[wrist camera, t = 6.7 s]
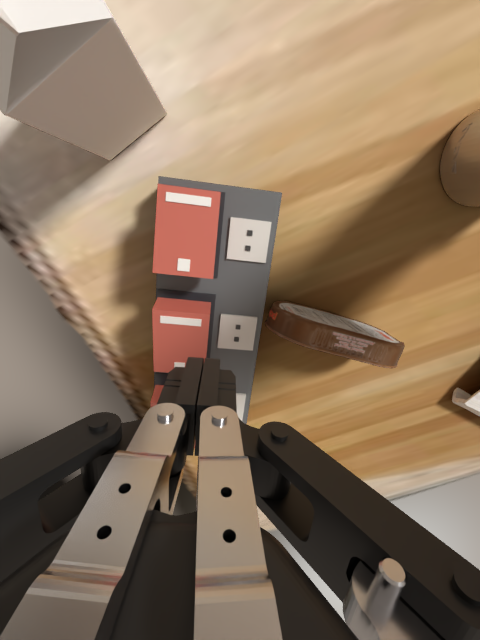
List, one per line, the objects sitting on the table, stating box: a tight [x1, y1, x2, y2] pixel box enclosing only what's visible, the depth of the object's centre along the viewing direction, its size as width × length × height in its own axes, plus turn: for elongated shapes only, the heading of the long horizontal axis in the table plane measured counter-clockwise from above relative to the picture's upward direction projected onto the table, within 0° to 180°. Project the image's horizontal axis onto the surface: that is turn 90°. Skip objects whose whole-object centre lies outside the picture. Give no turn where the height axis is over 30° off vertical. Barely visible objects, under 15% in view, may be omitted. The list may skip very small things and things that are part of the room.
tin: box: [265, 301, 404, 368], centre depth 32 cm, size 15×3×8 cm, turn 73°
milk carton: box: [0, 0, 167, 160], centre depth 18 cm, size 7×7×19 cm
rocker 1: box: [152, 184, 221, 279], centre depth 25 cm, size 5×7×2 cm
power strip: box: [154, 176, 282, 424], centre depth 33 cm, size 11×28×5 cm, turn 173°
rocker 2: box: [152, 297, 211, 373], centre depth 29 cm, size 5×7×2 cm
